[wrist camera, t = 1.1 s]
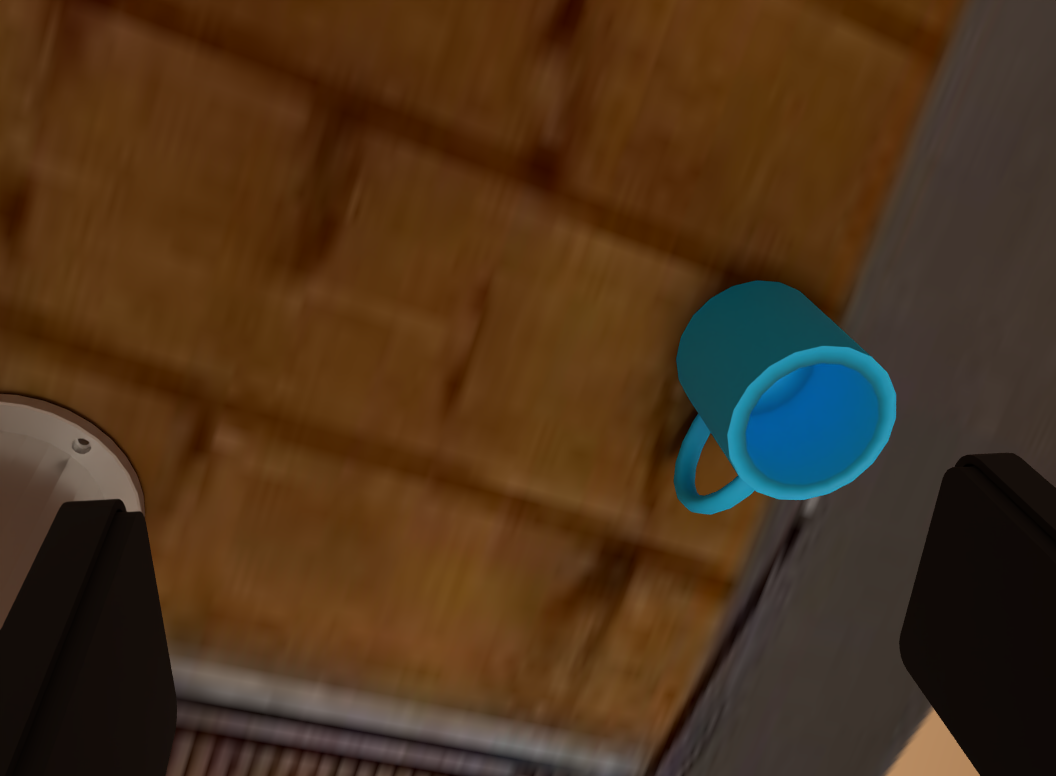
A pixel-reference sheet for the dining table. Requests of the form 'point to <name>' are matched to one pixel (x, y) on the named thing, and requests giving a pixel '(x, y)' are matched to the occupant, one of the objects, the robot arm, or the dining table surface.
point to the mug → (778, 397)
